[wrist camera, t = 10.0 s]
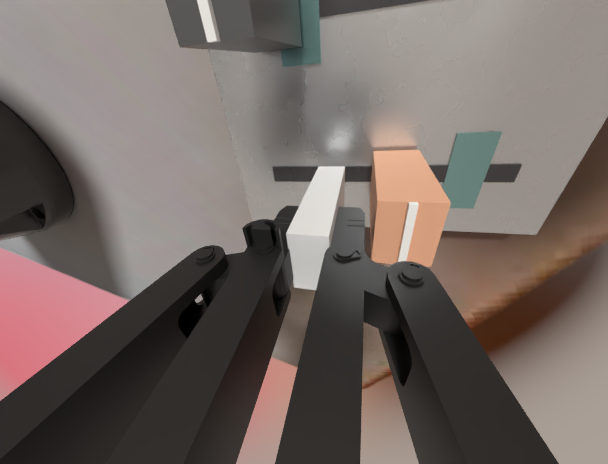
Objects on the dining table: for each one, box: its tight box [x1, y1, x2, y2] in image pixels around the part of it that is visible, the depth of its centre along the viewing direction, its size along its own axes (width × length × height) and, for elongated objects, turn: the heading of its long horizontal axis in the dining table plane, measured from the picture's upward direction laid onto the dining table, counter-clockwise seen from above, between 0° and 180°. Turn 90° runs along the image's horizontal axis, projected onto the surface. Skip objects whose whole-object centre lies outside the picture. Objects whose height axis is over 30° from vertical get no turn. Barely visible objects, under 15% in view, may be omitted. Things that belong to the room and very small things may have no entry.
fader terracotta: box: [369, 150, 451, 267], centre depth 11 cm, size 2×3×6 cm
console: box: [208, 0, 608, 235], centre depth 13 cm, size 19×16×2 cm
